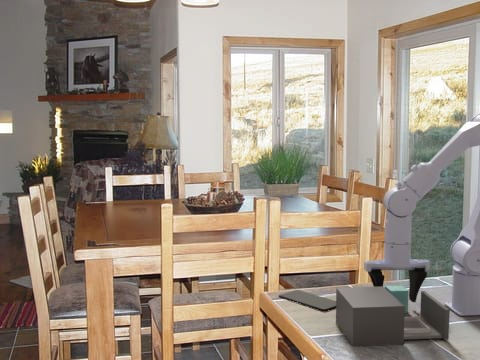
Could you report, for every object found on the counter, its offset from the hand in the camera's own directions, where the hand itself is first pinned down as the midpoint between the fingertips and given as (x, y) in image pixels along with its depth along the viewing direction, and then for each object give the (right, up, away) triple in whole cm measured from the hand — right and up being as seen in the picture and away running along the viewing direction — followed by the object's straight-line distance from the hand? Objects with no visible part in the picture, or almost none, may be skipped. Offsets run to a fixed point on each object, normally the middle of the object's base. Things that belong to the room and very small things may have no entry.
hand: (395, 301), depth 131 cm
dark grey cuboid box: (-9, -4, -14) cm, 17 cm away
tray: (0, -3, -13) cm, 13 cm away
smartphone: (-19, -2, +7) cm, 20 cm away
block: (0, -2, 0) cm, 2 cm away
